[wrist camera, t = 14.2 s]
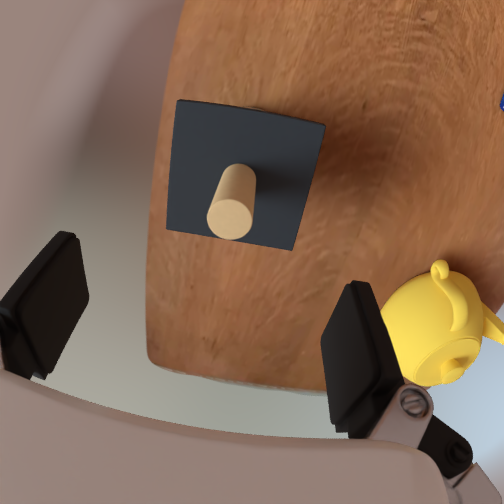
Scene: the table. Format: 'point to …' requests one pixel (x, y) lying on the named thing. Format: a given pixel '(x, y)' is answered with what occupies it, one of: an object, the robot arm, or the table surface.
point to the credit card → (502, 103)
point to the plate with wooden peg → (240, 173)
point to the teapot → (438, 325)
